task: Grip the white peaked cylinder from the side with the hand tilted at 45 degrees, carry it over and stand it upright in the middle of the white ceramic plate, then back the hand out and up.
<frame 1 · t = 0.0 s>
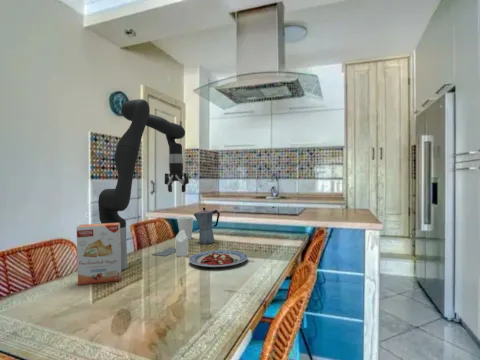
hand: (176, 192, 167), 29 cm above the table, tool pointing down, fingers open, 8 cm apart
cracker box: (100, 281, 112), on the table
ceramic plate: (218, 262, 133), on the table
moka pot: (207, 242, 173), on the table
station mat: (167, 252, 152), on the table
white peaked cylinder: (182, 255, 146), on the table
foam cup: (185, 239, 183), on the table
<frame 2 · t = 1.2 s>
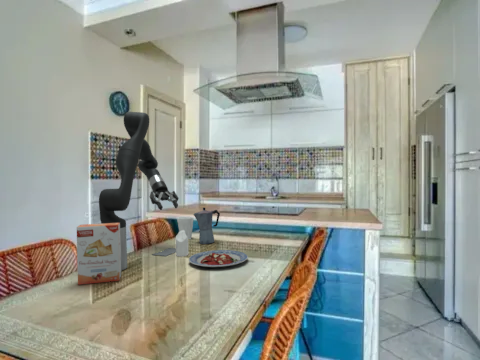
hand: (169, 208, 155), 22 cm above the table, tool tilted 45°, fingers open, 8 cm apart
nothing on the table moved.
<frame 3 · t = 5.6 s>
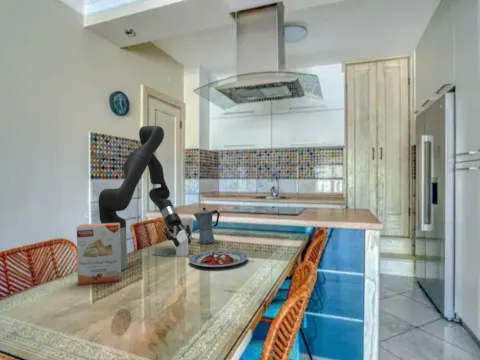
hand: (183, 244, 145), 5 cm above the table, tool tilted 45°, fingers closed on white peaked cylinder, 5 cm apart
white peaked cylinder: (182, 255, 146), on the table, touching gripper
everything else where it was.
when the fingers open (9 cm above the table, at t = 11.4 s): white peaked cylinder stays where it is, resting on ceramic plate.
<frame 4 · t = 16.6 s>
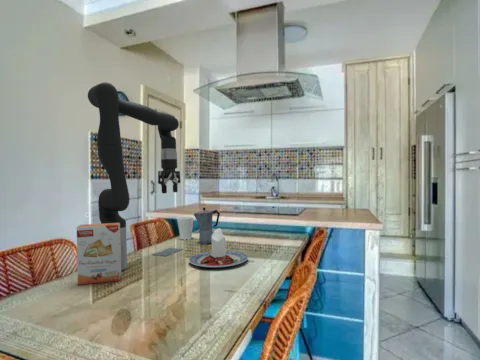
hand: (169, 192, 145), 30 cm above the table, tool pointing down, fingers open, 8 cm apart
ceramic plate: (218, 263, 133), on the table, touching white peaked cylinder
white peaked cylinder: (218, 256, 133), point 2 cm above the table, touching ceramic plate
everything else where it was.
at the end: white peaked cylinder 0.1 cm from the ceramic plate (horizontally); white peaked cylinder tilted 1°; white peaked cylinder touching ceramic plate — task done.
